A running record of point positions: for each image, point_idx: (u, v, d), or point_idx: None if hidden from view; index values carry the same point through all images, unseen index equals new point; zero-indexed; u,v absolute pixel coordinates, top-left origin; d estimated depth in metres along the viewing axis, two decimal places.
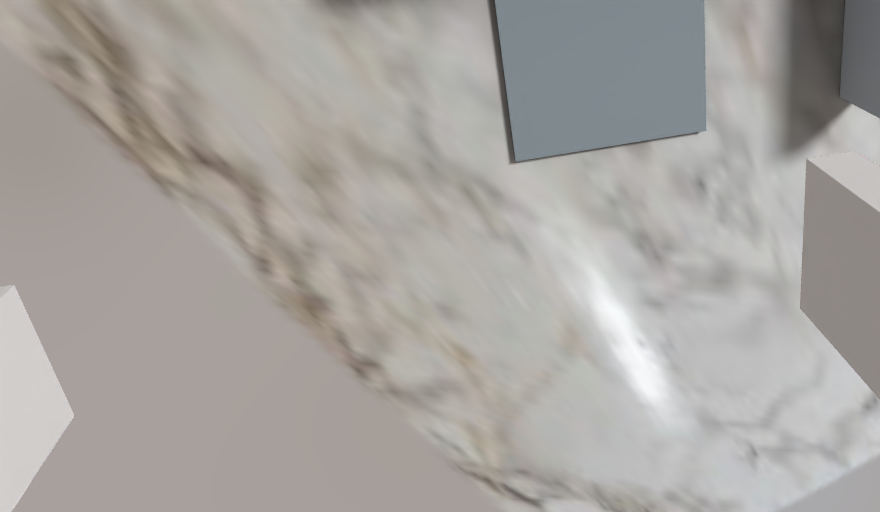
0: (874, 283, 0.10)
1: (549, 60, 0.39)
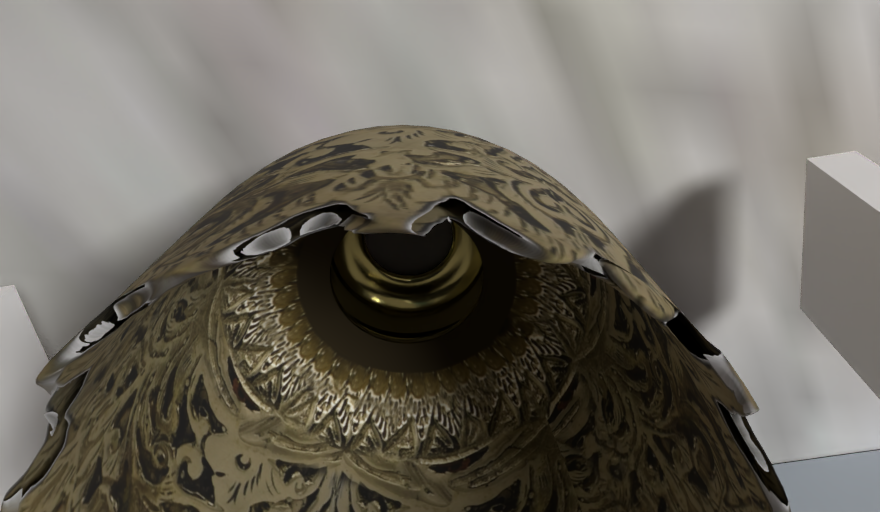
0: (874, 283, 0.10)
1: None
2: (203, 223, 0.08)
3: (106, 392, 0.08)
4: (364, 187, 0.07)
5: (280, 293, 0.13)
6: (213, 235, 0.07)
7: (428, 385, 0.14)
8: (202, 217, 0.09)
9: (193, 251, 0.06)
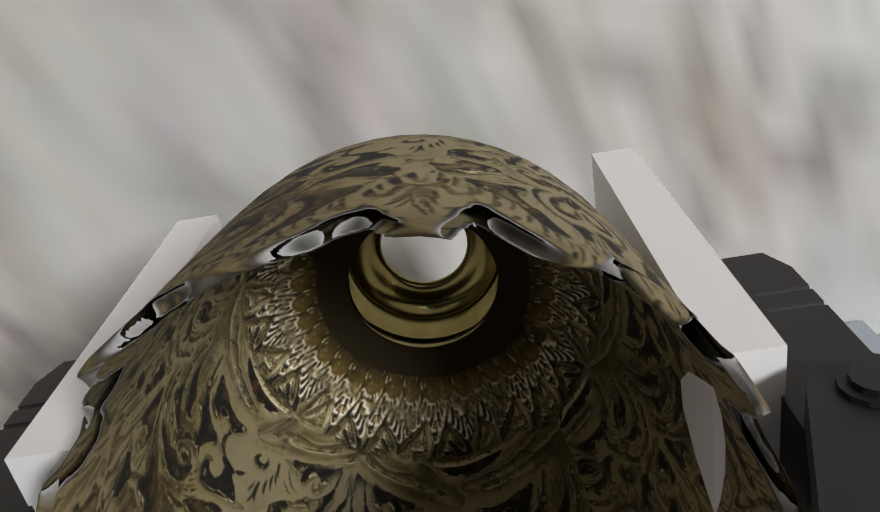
0: None
1: None
2: (235, 226, 0.08)
3: (135, 389, 0.09)
4: (392, 193, 0.07)
5: (299, 298, 0.13)
6: (248, 237, 0.07)
7: (442, 390, 0.14)
8: (232, 221, 0.09)
9: (229, 252, 0.07)
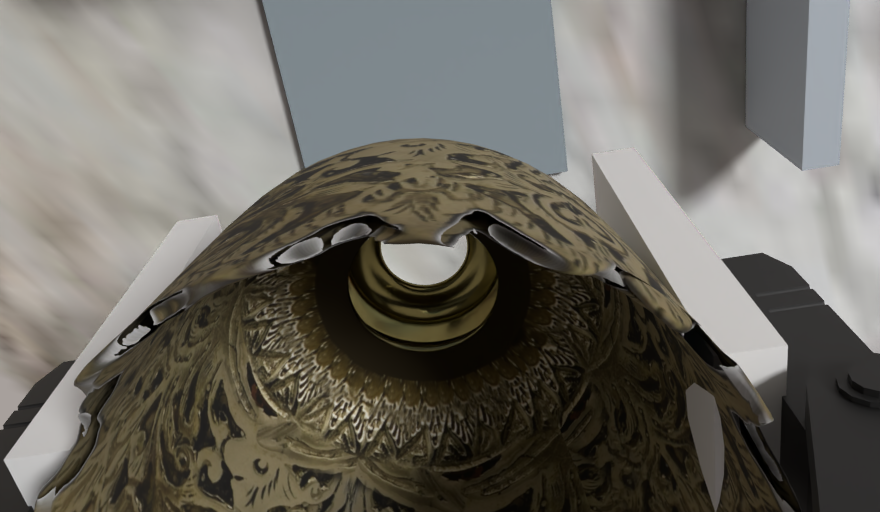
0: None
1: (346, 78, 0.28)
2: (233, 232, 0.08)
3: (133, 395, 0.09)
4: (392, 199, 0.07)
5: (298, 301, 0.13)
6: (246, 243, 0.07)
7: (441, 393, 0.14)
8: (230, 226, 0.09)
9: (228, 259, 0.07)
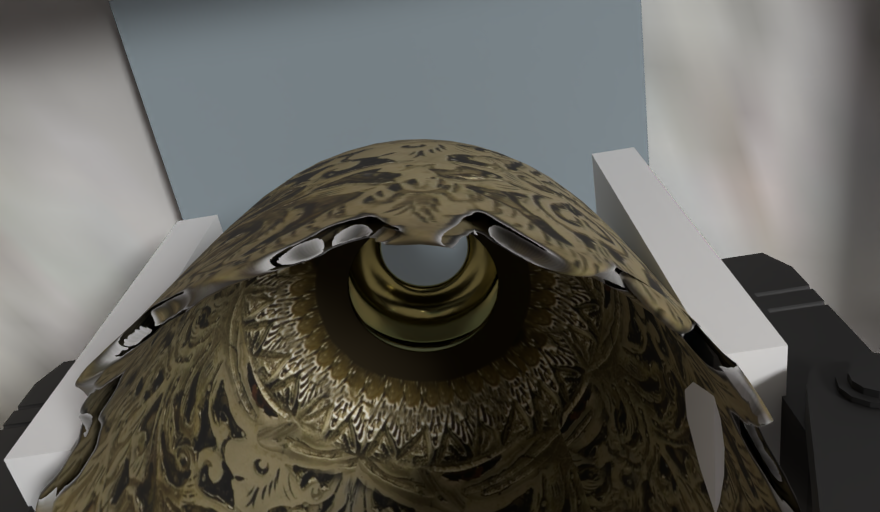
0: None
1: None
2: (234, 232, 0.08)
3: (133, 396, 0.09)
4: (392, 200, 0.07)
5: (299, 302, 0.13)
6: (247, 244, 0.07)
7: (442, 394, 0.14)
8: (231, 226, 0.09)
9: (229, 260, 0.07)
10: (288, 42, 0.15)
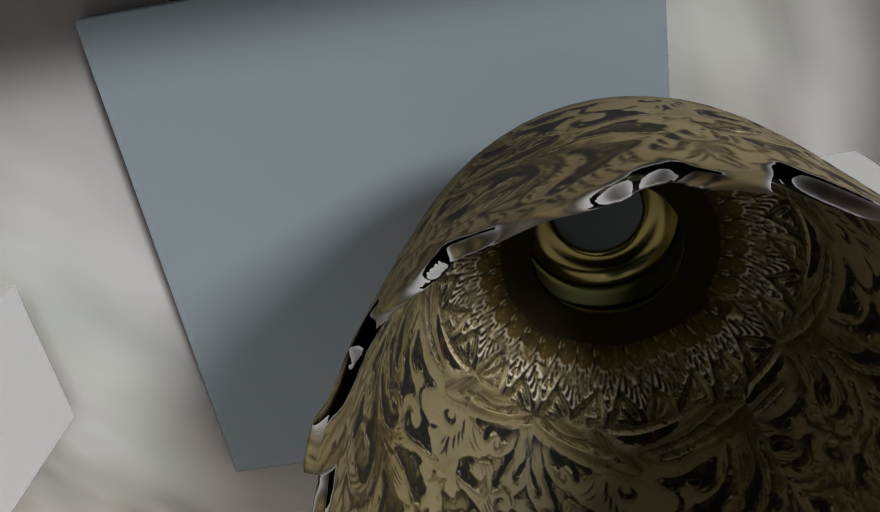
0: None
1: (280, 261, 0.15)
2: (498, 177, 0.08)
3: (377, 335, 0.09)
4: (682, 147, 0.07)
5: (484, 258, 0.13)
6: (539, 186, 0.07)
7: (615, 358, 0.14)
8: (477, 173, 0.09)
9: (530, 199, 0.07)
10: (274, 67, 0.14)
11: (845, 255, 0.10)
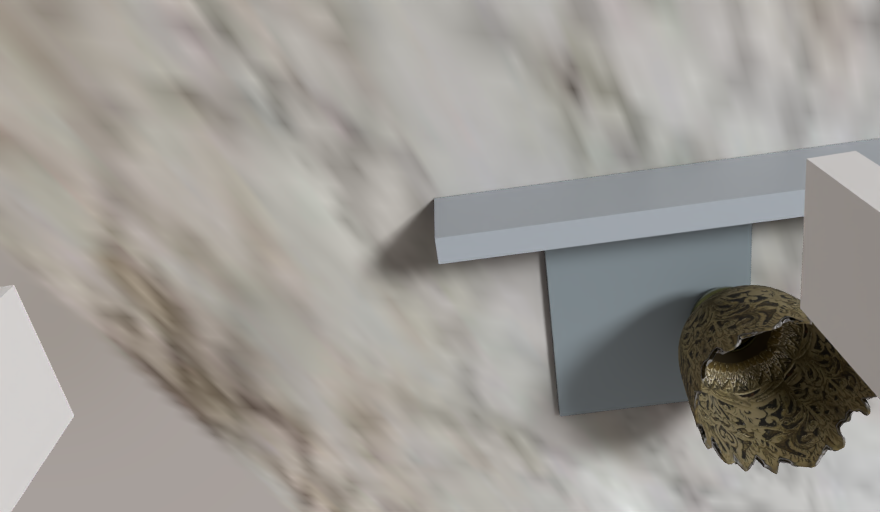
0: (874, 283, 0.10)
1: (598, 330, 0.40)
2: (739, 317, 0.33)
3: None
4: (787, 312, 0.32)
5: None
6: (758, 322, 0.31)
7: (734, 368, 0.38)
8: (726, 314, 0.33)
9: (759, 325, 0.31)
10: (610, 263, 0.38)
11: (816, 331, 0.35)
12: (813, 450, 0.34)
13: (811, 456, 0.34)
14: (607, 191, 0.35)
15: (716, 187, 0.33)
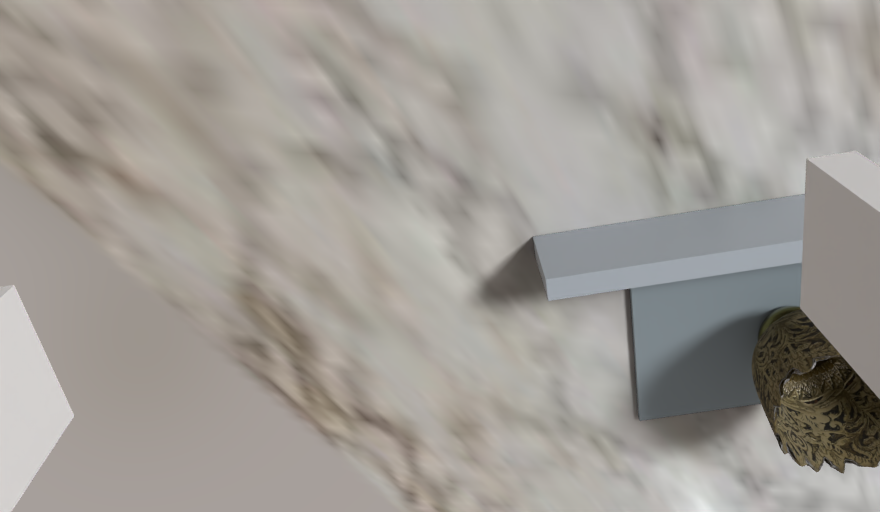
0: (874, 283, 0.10)
1: (675, 346, 0.45)
2: (811, 340, 0.37)
3: (777, 375, 0.38)
4: None
5: None
6: (830, 346, 0.36)
7: (798, 377, 0.43)
8: (798, 337, 0.38)
9: (831, 349, 0.36)
10: (688, 288, 0.43)
11: None
12: (875, 452, 0.39)
13: (873, 457, 0.39)
14: (690, 230, 0.40)
15: (789, 227, 0.38)
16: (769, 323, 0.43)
